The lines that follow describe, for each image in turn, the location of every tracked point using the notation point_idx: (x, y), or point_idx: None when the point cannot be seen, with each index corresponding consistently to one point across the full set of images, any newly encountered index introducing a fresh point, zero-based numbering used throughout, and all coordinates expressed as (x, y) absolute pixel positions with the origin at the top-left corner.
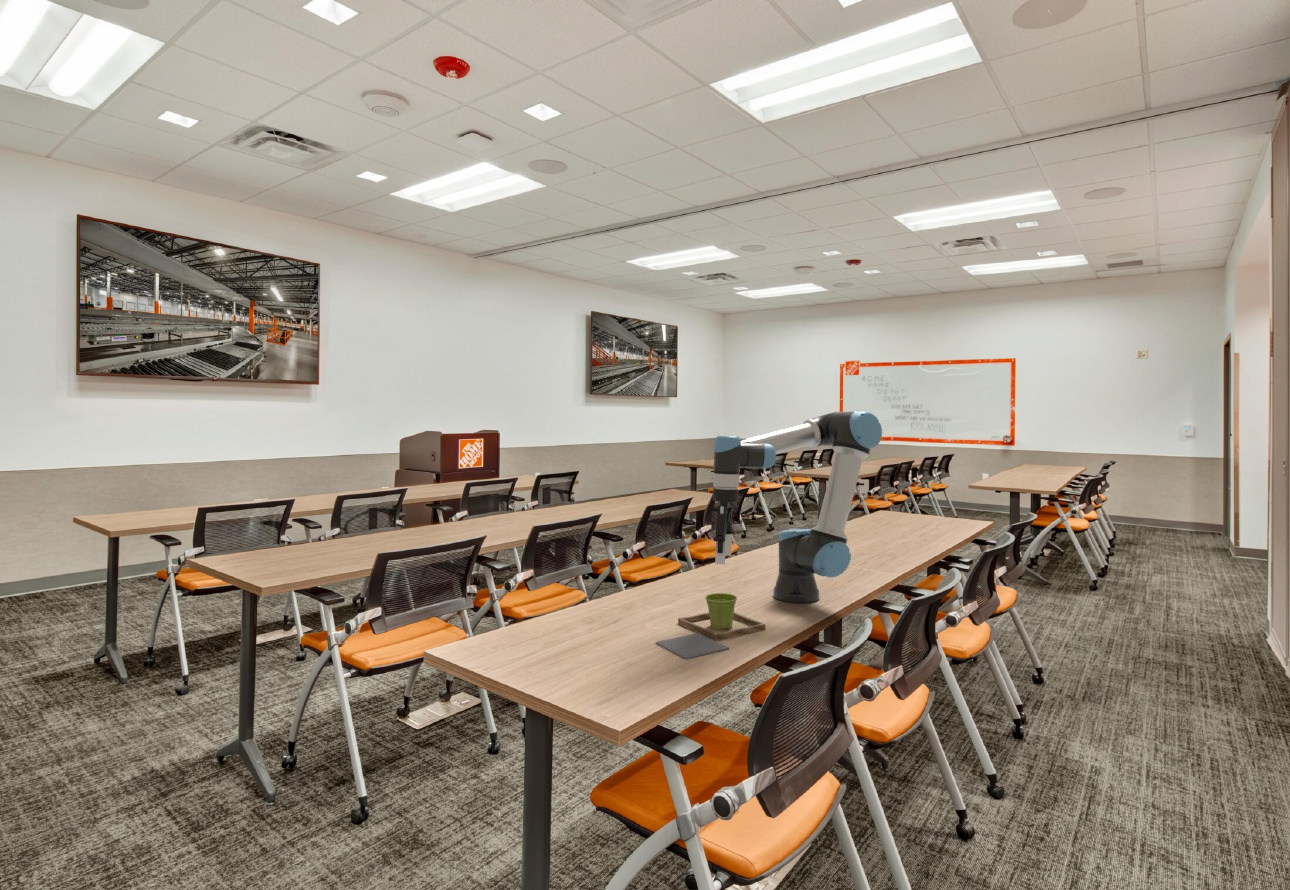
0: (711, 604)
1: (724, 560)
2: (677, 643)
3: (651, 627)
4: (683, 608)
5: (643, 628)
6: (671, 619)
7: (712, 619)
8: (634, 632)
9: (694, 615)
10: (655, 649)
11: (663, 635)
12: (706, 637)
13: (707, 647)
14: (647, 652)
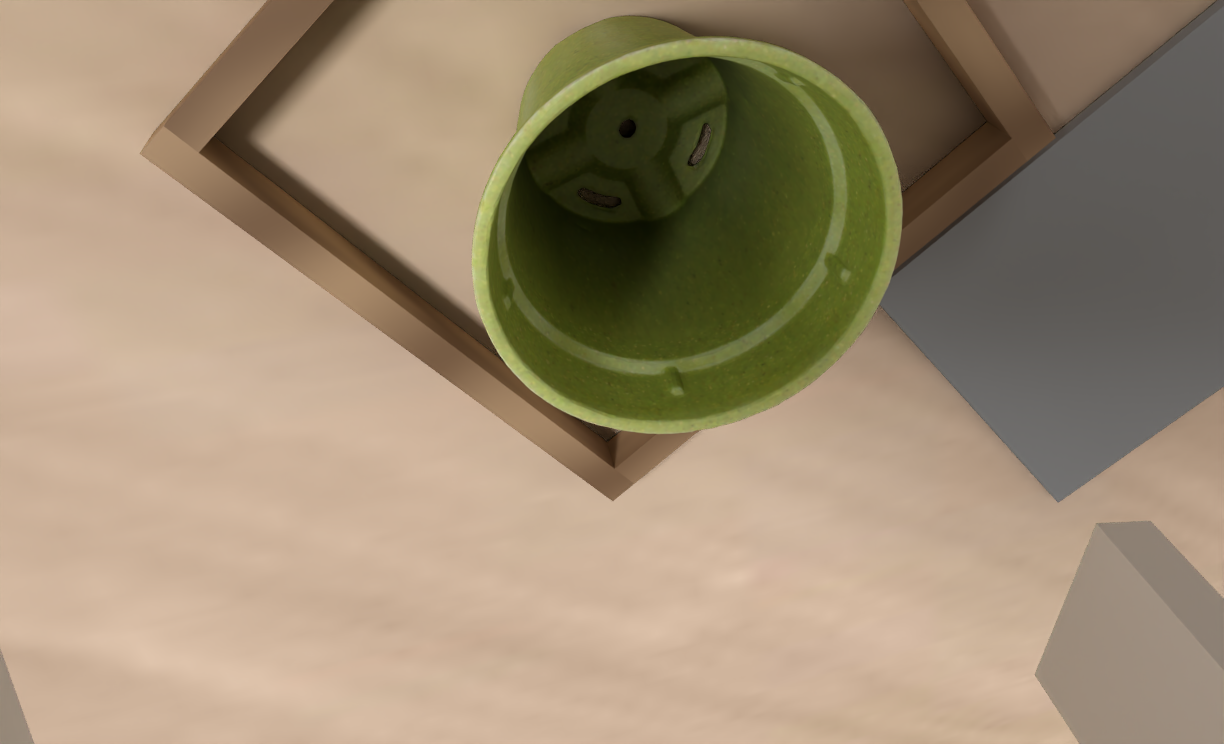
0: (811, 318)
1: (1207, 590)
2: (1097, 378)
3: (724, 597)
4: (146, 531)
5: (751, 629)
6: (507, 536)
7: (723, 233)
8: (835, 647)
9: (493, 406)
10: (1155, 469)
11: (891, 494)
12: (985, 207)
13: (1215, 162)
14: (1198, 494)
